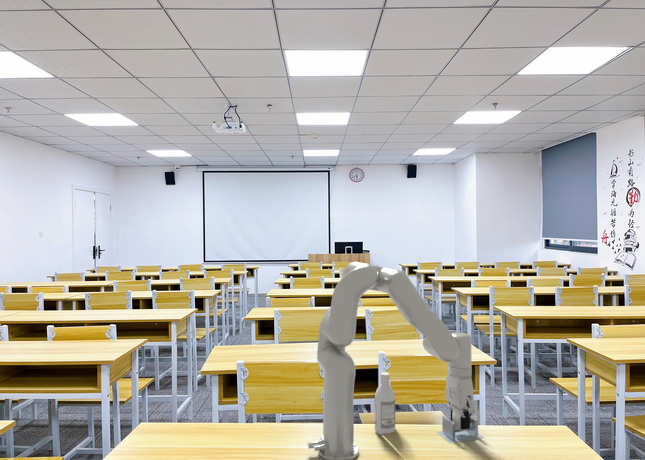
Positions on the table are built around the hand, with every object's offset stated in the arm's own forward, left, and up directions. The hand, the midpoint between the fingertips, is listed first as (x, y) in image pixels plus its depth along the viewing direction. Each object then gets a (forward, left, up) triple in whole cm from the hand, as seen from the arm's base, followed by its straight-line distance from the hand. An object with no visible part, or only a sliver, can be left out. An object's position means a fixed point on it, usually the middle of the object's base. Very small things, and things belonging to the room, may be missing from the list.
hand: (460, 424), depth 147 cm
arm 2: (+4, 0, -3) cm, 5 cm away
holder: (0, 0, -4) cm, 4 cm away
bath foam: (-22, +12, -5) cm, 25 cm away
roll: (0, 0, -1) cm, 1 cm away
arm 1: (-4, 0, -3) cm, 6 cm away
